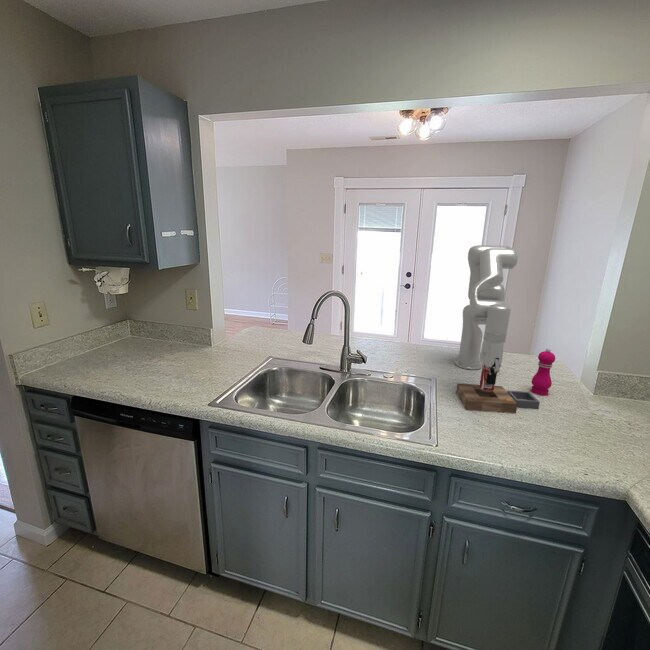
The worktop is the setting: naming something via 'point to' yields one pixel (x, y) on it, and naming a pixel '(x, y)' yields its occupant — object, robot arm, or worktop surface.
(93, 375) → the worktop surface
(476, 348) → the robot arm
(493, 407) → the block
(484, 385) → the soda can
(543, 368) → the pepper mill
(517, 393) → the holster
